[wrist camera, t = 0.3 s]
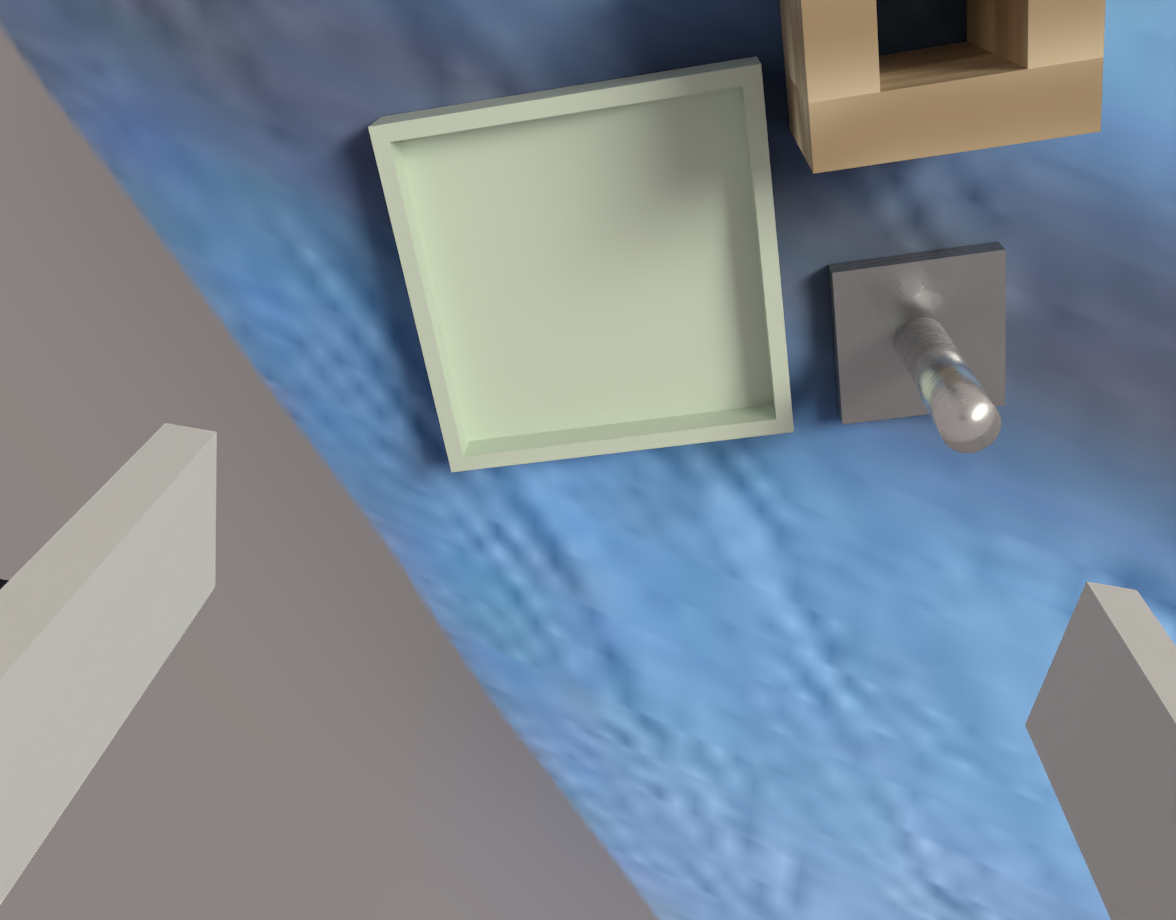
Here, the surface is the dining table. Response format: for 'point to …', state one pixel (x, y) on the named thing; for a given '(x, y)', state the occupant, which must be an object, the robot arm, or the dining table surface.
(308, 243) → the dining table surface
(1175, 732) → the robot arm
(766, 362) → the tray
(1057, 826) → the dining table surface
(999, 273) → the gauge post
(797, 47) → the bored block
